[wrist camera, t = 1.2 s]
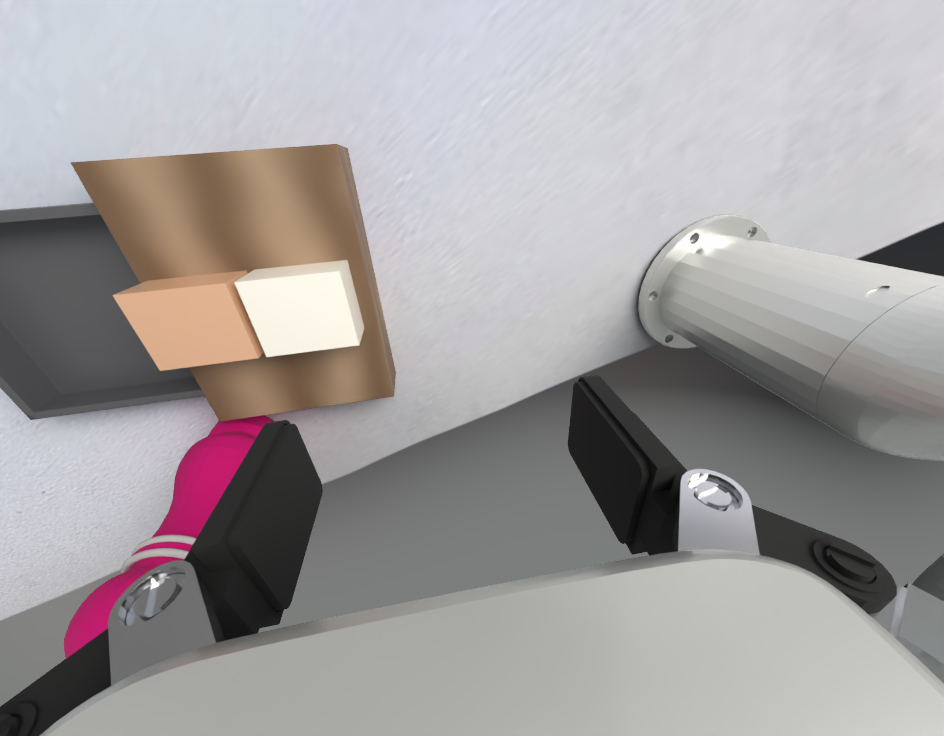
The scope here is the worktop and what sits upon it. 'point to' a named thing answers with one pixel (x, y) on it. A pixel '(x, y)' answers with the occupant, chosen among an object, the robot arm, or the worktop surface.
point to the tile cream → (302, 307)
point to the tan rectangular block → (191, 320)
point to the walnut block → (252, 256)
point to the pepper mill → (173, 520)
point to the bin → (72, 318)
